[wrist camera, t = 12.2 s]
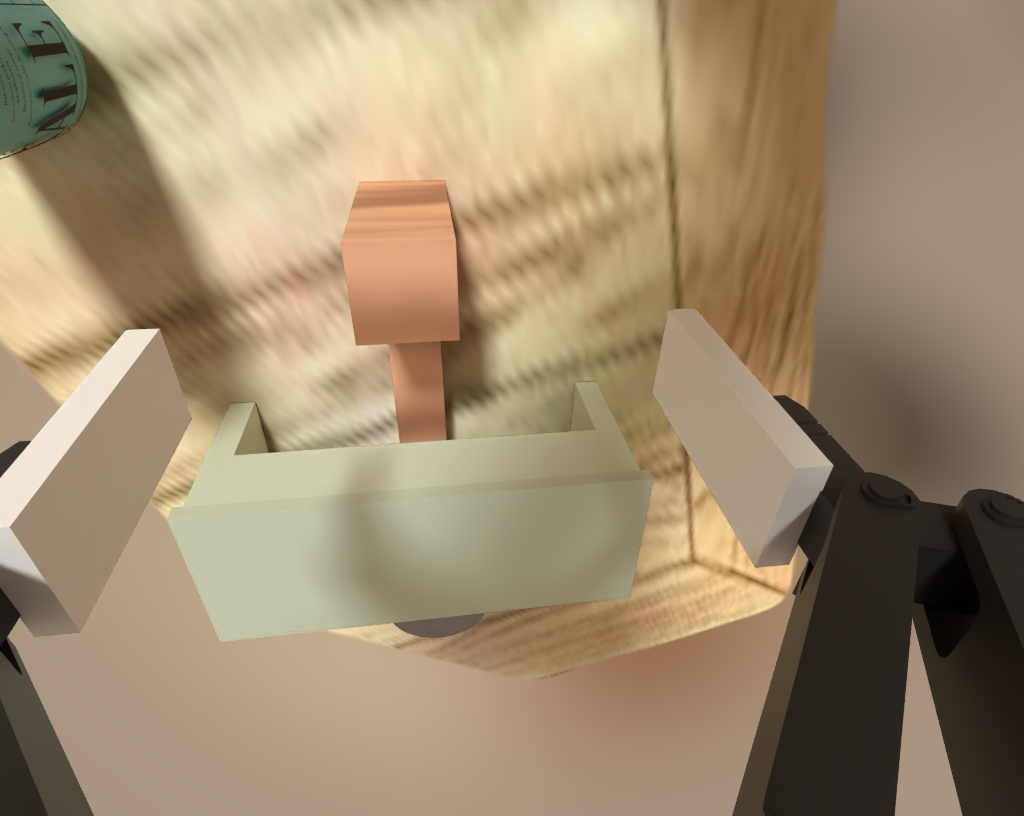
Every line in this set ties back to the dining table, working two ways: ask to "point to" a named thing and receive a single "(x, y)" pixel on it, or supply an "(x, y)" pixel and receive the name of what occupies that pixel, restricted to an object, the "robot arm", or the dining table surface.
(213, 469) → the shelf
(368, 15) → the dining table surface
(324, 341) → the dining table surface
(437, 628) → the puck
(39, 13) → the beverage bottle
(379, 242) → the paddle
